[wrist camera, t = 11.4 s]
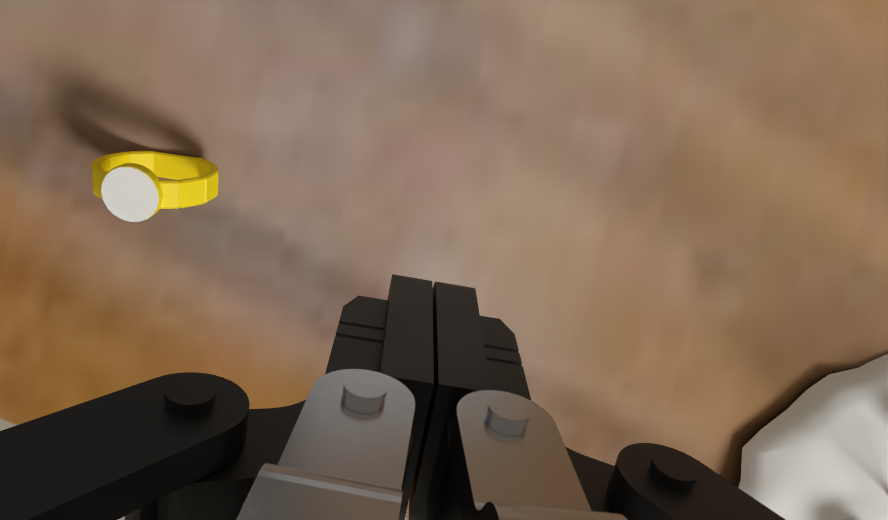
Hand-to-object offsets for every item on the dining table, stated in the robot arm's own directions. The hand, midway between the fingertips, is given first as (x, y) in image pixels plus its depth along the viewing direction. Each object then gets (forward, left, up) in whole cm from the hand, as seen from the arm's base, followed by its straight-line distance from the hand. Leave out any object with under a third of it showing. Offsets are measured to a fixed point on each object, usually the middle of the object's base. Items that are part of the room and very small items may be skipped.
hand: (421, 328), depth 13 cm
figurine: (+34, -19, -28) cm, 48 cm away
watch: (-13, -6, -27) cm, 31 cm away
